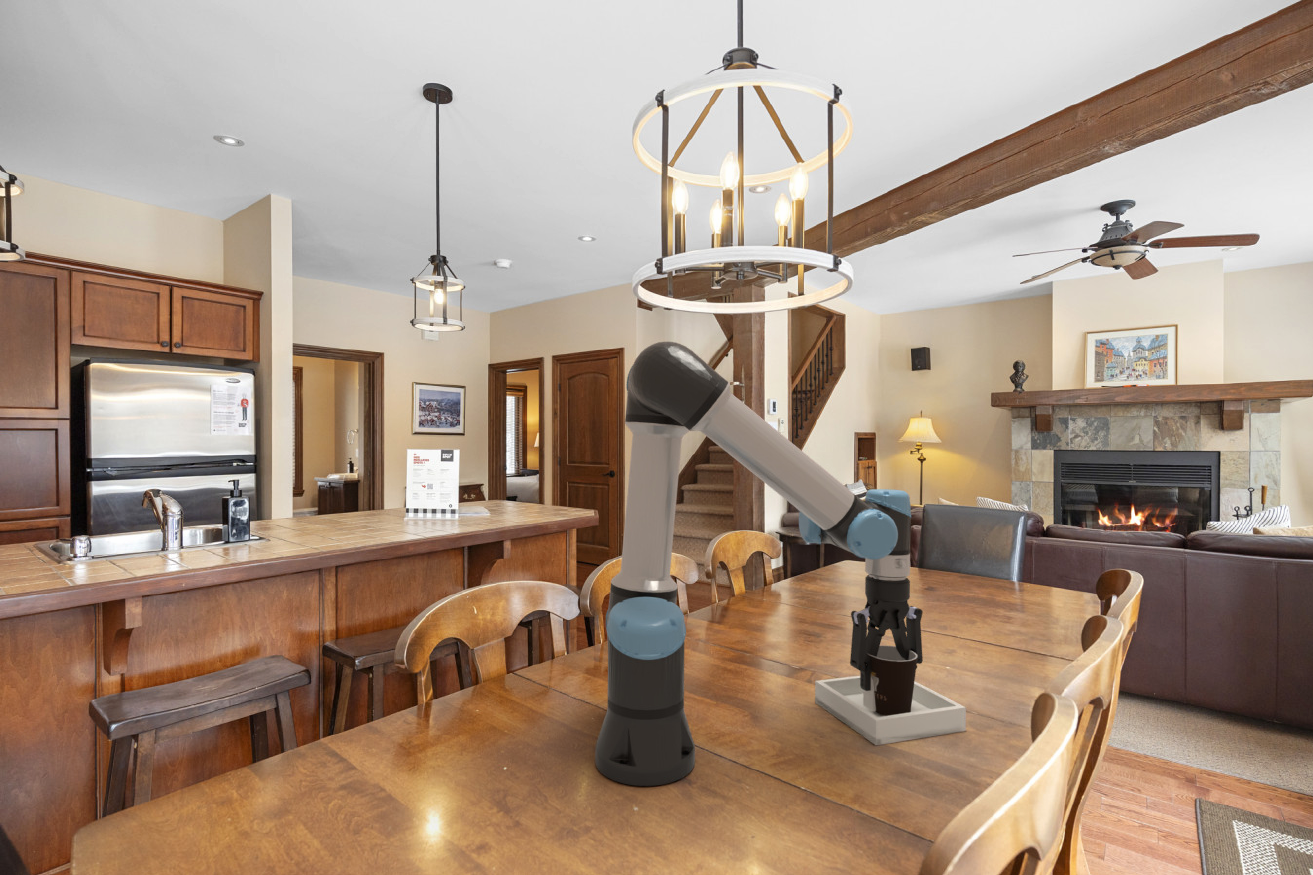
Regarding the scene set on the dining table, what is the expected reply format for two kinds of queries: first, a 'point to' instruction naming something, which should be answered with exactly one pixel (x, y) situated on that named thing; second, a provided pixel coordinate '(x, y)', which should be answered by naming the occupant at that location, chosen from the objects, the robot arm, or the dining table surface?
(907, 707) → the coffee mug
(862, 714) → the white tray
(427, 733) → the dining table surface
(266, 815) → the dining table surface
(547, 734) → the dining table surface
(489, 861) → the dining table surface
